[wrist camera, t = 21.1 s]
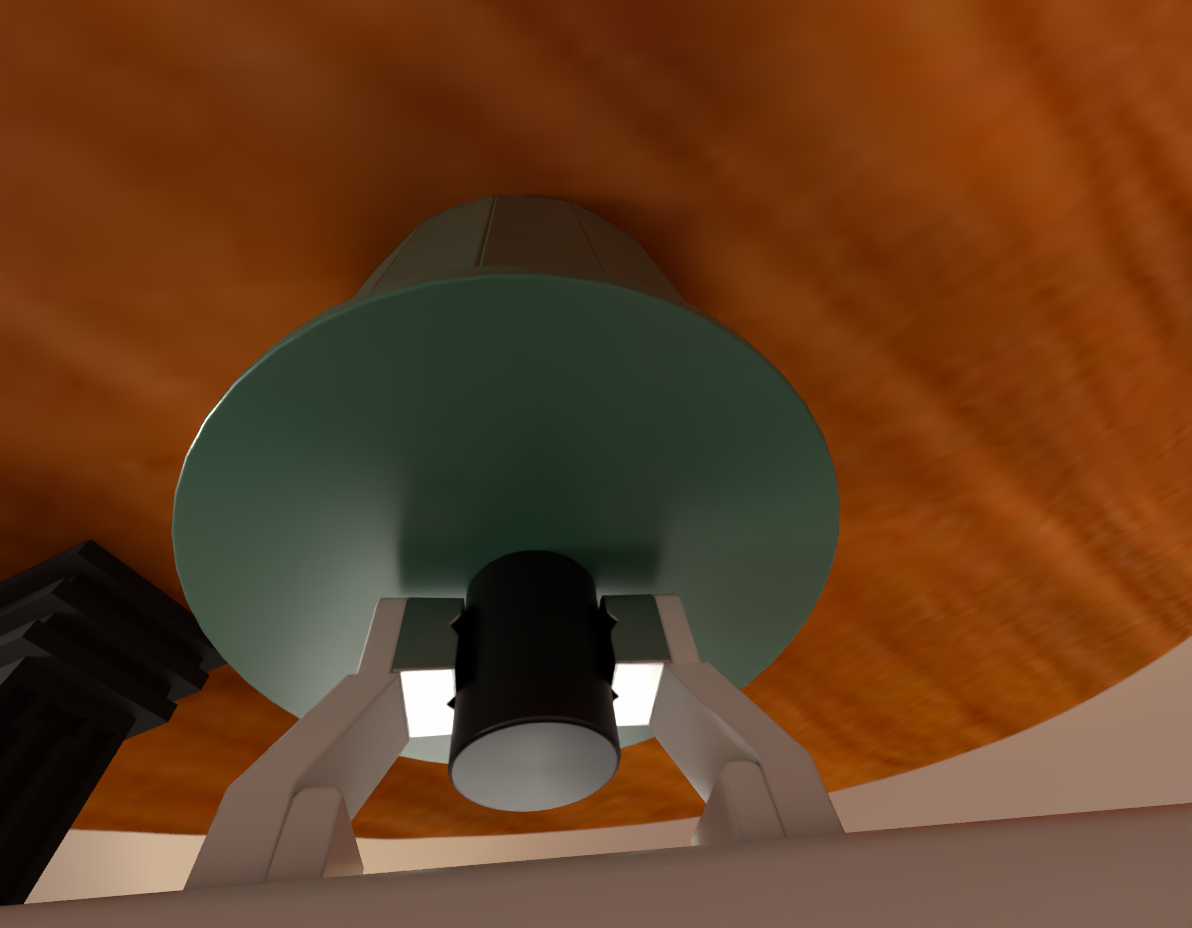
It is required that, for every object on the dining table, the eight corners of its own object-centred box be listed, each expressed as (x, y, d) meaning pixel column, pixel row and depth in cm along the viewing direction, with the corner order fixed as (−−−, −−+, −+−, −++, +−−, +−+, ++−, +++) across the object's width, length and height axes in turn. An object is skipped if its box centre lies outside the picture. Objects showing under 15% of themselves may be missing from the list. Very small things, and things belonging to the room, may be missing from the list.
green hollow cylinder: (339, 177, 17) (177, 248, 9) (708, 211, 18) (849, 296, 10) (381, 489, 23) (309, 694, 15) (653, 492, 25) (716, 677, 17)
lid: (91, 218, 8) (-340, 338, 4) (910, 283, 10) (1172, 408, 6) (279, 736, 15) (192, 966, 11) (736, 713, 17) (803, 902, 13)
